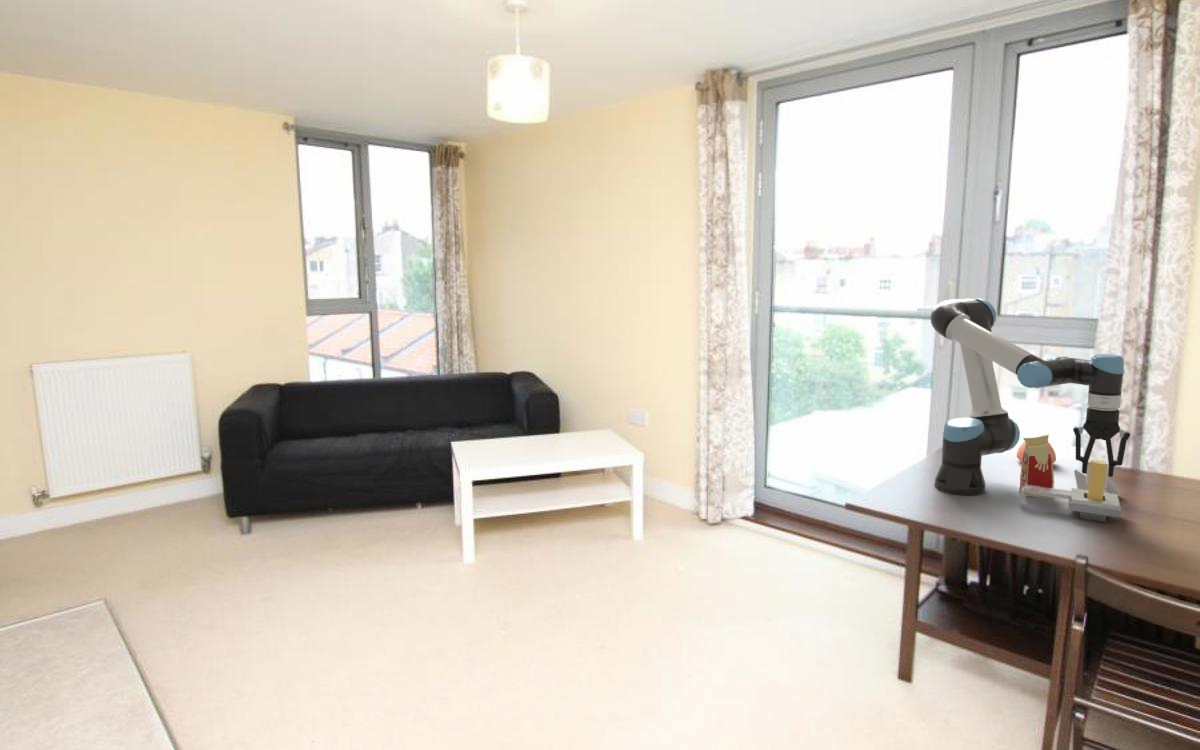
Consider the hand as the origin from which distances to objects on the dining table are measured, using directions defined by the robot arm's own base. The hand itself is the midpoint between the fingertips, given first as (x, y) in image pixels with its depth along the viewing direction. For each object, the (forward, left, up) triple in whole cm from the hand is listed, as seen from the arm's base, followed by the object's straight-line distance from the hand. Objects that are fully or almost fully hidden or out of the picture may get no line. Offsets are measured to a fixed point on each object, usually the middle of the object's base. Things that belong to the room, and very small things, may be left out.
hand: (1096, 485), depth 192 cm
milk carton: (-15, +15, -10) cm, 24 cm away
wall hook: (+2, +21, -10) cm, 23 cm away
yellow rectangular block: (0, 0, -5) cm, 5 cm away
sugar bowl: (-16, +51, -10) cm, 55 cm away
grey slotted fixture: (-6, 0, -10) cm, 12 cm away
